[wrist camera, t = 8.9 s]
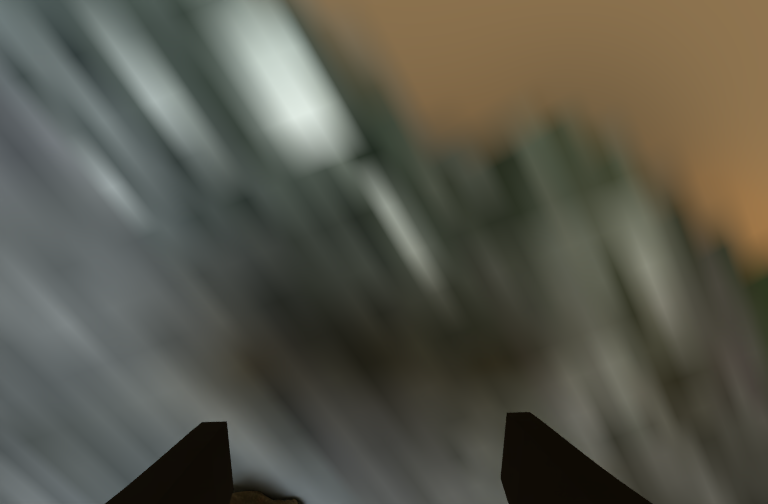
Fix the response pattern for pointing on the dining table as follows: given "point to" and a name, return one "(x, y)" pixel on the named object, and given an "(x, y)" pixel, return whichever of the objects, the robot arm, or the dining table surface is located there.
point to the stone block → (256, 498)
